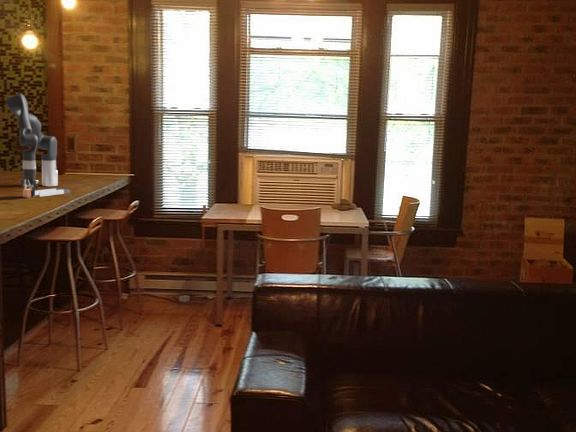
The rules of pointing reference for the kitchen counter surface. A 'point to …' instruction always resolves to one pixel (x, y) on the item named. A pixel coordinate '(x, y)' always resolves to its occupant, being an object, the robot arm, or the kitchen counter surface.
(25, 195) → the block
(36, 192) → the channel
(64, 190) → the tray
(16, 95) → the robot arm
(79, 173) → the kitchen counter surface
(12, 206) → the kitchen counter surface
